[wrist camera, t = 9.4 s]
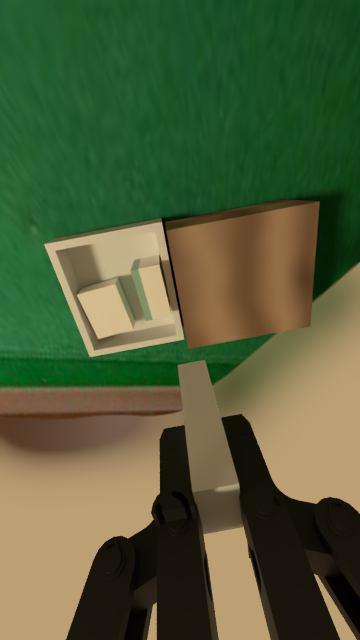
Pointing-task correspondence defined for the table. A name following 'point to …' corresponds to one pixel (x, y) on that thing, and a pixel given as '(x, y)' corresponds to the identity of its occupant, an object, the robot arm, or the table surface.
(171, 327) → the bin
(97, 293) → the tile
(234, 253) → the walnut block
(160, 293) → the tile
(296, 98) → the table surface
